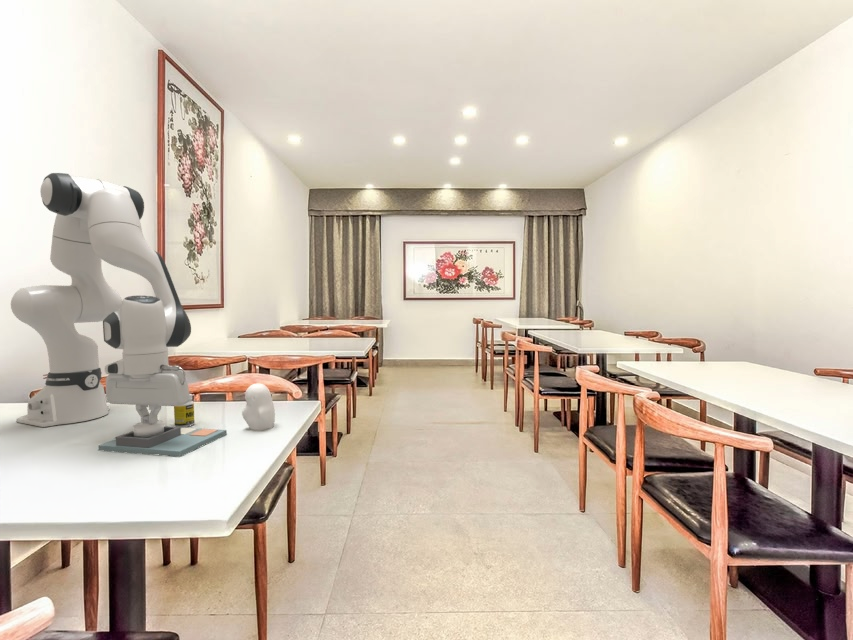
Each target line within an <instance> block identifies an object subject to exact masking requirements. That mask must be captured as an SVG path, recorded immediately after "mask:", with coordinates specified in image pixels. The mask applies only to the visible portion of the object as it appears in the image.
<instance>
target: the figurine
mask: <svg viewBox="0 0 853 640" xmlns="http://www.w3.org/2000/svg"><path fill="white" fill-rule="evenodd" d="M244 397H245V399H244V400H245V403H246V405H245V406H244V407H243V409H242V411H241V415H242V418H243V420H244V422H245V423H246V424H247V425H248V428H249V429H250V430H251V431H263V430H269V429H271V428H273V427H274V426H275V421H276V416H275V415H276V413H275V410H276V409H275V404H274V401H273V398H272V393H271V392H270V390H269V387H268V386H267V385H265V384H263V383H253V384H251V385H250V386H248V387H247V389H246V390H245V393H244Z"/></svg>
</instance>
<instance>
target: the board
mask: <svg viewBox="0 0 853 640" xmlns="http://www.w3.org/2000/svg"><path fill="white" fill-rule="evenodd" d="M227 432H228V431H227V429H217V428H216V429H215V428H199V427H175V426H168V425H164V432H163V433H161V434H158V435H156V436H153V437H150V438H139V437H134V430H132V431H130V432H127V433H123V434H121V435H118V436H115V439H113V440H109V441H105V442H104V443H101V444H99V445H97V451H99V450H104V451H103V452H111V451H114V453H124V452H127V453H126V454H137V453H142V454H141V455H150V454H159V455H158V456H162V455H170V456H169V457H175V456H181V457H183V456H184V454H185V455H187V454H189V453H191V452H193V451H195V450H197V449H196V448H198V447H200V446H202V445H204V444H206V443H208V444H210V443H212V442H214V441H216V440H219V439H221V438H222V437H225V436H227V434H228V433H227ZM218 438H219V439H218ZM213 440H214V441H213ZM211 441H212V442H211ZM209 442H210V443H209ZM206 445H207V444H206ZM204 446H205V445H204ZM202 447H203V446H202ZM200 448H201V447H200ZM194 449H195V450H194ZM198 449H199V448H198ZM192 450H193V451H192ZM190 451H191V452H190ZM188 452H189V453H188ZM186 453H187V454H186ZM182 455H183V456H182Z"/></svg>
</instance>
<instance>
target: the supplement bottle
mask: <svg viewBox="0 0 853 640" xmlns="http://www.w3.org/2000/svg"><path fill="white" fill-rule="evenodd" d="M189 395H190V399H189V401H188V402H187V403H186V404H183V405H180V406H173V415H174V427H185V428H187V427H186V426H189V427H191V426H190V425H192V426H194V425H193V424H195V422H196V421H195V402H194V401H193V394H192V393H189Z"/></svg>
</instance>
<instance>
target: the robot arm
mask: <svg viewBox="0 0 853 640" xmlns="http://www.w3.org/2000/svg"><path fill="white" fill-rule="evenodd" d="M40 197H41V201H42V204H43V206H44V207H45V208H46V209H47V210H49V211H50V212H52V213H55V214H56V216H55V219H54V223H53V230H52V236H51V247H50V258H49V260H50V262H51V264H52V266H53V267H54V268H55V269H57V270H58V271H60V272H62V273H63V274H66V275H68V276H70V278H71V284H70V285H57V284H56V285H47V284H46V285H45V284H42V285H35V286H34V285H33V286H27V287H21V288H19V289H18V290H17V291H16V292H14V294H13V295H12V297H11V300H10V309H11V312H12V313H13V315H14V316H15V318H16V319H18V320H19V321H20V322H22V323H24V324H25V325H27V326H29V327H31V328H32V329H33V330H35V331H36V332H37V334H39V335H40V337H41V338H42V340H43V342H44V343H45V346H46V352H47V356H48V363H49V372H48V373H46V374H43V375H42V376H43V378H42V379H43V380H45V383H44V384H45V386H44V387H43V388H41V389H40V390H39V391H37V392H36V393H35V394H34V395H33V396H32V397H30V398H29V399H28V401H27V412H26V413H27V414H25V415H22V416H19V417H17V418H16V419H15V420H16V423H20V424H26V425H31V426H36V427H41V428H47V427H53V426H56V425H57V426H58V425H67V424H75V423H80V422H85V421H90V420H94V419H98V418H101V417H103V416H104V417H105V416H106V415H108V414H109V411H110V406H109V405H108V403H109V404H111V405H129V406H130V405H132V406H135V410H136V412H137V413H138V415H139V417H140V422H141V423H148V424H154V423H157V421H158V420H159V419H158V418H159V417H158V415H159V414H160V412H161V409H162V407H174V406H180V405H183V404H186V403H187V402H188V401H189V399H190V395H189V394H190V389H189V388H190V387H189V383H188V379H187V376H186V371H185V370H184V369H183V368H182V367H181V366H180V365H178V364H177V365H170V364H169V350H168V348H172V347H173V348H177V347H180V346H182V344H184V343H185V342H186V341H187V340H188V339H189V337H190V336H191V333H192V325H191V321H190V319H189V316H188V314H187V313H186V311H185V309H184V307H183V305H182V303H181V300H180V298H179V296H178V292H177V289H176V288H175V284H174V282H173V280H172V277H171V274H170V272H169V269H168V267H167V264H166V263H165V260H164V258H163V256H162V255H161V254H160V253H159V252H158V251H156V250H154V249H153V248H152V247H151V246H150V245H149V243H148V241H147V240H146V239H145V237H144V233H143V228H142V224H141V219H142V218H143V216H144V211H145V202H144V199H143V196H142V195H141V193H140V192H139V191H137V190H135V189H133V188H131V187H129V186H125V185H124V186H123V185H121V184H120V185H119V184H116V183H114V182H109V181H108V180H107V181H106V180H104V179H99V178H97V179H96V178H89V177H84V176H77V175H70V174H69V173H63V172H51V173H49V174H48V175H46V176H44V179H43V181H42V183H41V186H40ZM102 261H103V262H105V263H107V264H108V265H111V266H114V267H116V268H119V269H122V270H126V271H128V272H132V273H135V274H137V275H138V276H140V277H142V278H144V279H146V280H147V281H148V283H150V285H151V288H152V290H153V292H154V295H155V296H151V295H130V296H126V297H124V298H123V299H122V297H121V295H120V294H119V292H117V291H116V289H114V288H113V287H111V286H110V284H109V283H108V282H107V280H106V279H105V277H104V274H103V269H102ZM99 322H102V334H103V342H105V343H106V344H107V345H108V346H110V347H111V348H113V349H115V350H122V358H121V359H117V360H115V361H113V362H111V363H108V364H105V366H104V373H105V374H106V375H107V376H106V377H105V387H104V385H103V383H101V380H102V374H103V373H102V368H101V367H100V365H99V364H100V363H99V345H98V344H97V342H96V341H95V340H94V339H93V338H91V337H89V336H86V335H83V334H80V333H79V332H78V331H77V329H76V327H75V324H77V323H79V324H81V323H82V324H83V323H99ZM107 402H108V403H107ZM149 411H150V412H149Z"/></svg>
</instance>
